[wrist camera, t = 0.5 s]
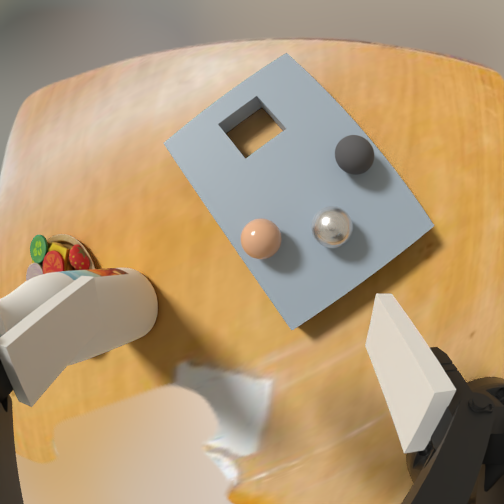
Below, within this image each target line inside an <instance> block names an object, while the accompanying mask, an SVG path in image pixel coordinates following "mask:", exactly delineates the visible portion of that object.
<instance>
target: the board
mask: <svg viewBox="0 0 504 504" xmlns="http://www.w3.org/2000/svg"><path fill="white" fill-rule="evenodd" d="M261 107H262V108H263V109H264V110H265V111H266V112H267V113H268V114H269V115H270V116H271V118H272V119H273V120H274V121H275V122H276V123H277V124H278V126H279V127H280V128H281V129H282V130H283V132H281V133H280V134H278V135H277V136H276V137H274V138H273V139H271V140H270V141H269V142H267V143H266V144H265V145H263V146H262V147H261V148H259V149H258V150H256V151H255V152H254V153H252V154H251V155H250V156H248V157H247V158H245V157H244V156H243V155H242V153H241V152H240V151H239V149H238V148H237V147H236V146H235V144H234V143H233V142H232V141H231V139H230V138H229V137H228V136H227V134H226V133H227V132H229V131H230V130H231V129H233V128H234V127H235V126H237V125H238V124H239V123H241V122H242V121H243V120H245V119H246V118H247V117H249V116H250V115H252V114H253V113H254V112H256V111H257V110H259V109H260V108H261ZM349 135H358V136H361V137H363V138H365V139H366V140H368V141H369V143H370V144H371V145H372V147H373V150H374V161H373V164H372V166H371V167H370V169H369V170H367V171H366V172H364V173H362V174H358V175H353V174H349V173H347V172H345V171H343V170H342V169H341V168H340V167H339V165H338V164H337V162H336V159H335V149H336V146H337V144H338V142H339V141H340V140H341V139H343V138H344V137H346V136H349ZM164 145H165V146H166V148H167V149H168V151H169V152H170V154H171V155H172V157H173V158H174V160H175V161H176V163H177V164H178V166H179V167H180V169H181V170H182V172H183V173H184V175H185V176H186V178H187V179H188V181H189V182H190V183H191V185H192V186H193V188H194V189H195V191H196V192H197V194H198V195H199V197H200V198H201V200H202V201H203V203H204V204H205V206H206V207H207V209H208V210H209V211H210V213H211V214H212V216H213V217H214V219H215V220H216V222H217V223H218V225H219V226H220V228H221V229H222V230H223V232H224V233H225V235H226V236H227V238H228V239H229V241H230V242H231V244H232V245H233V247H234V248H235V249H236V251H237V252H238V254H239V255H240V257H241V258H242V260H243V261H244V263H245V264H246V265H247V267H248V268H249V270H250V271H251V273H252V274H253V276H254V277H255V278H256V280H257V281H258V283H259V284H260V286H261V287H262V289H263V290H264V291H265V293H266V294H267V296H268V297H269V299H270V300H271V301H272V303H273V304H274V306H275V307H276V309H277V310H278V312H279V313H280V314H281V316H282V317H283V319H284V320H285V322H286V323H287V324H288V326H289V327H290V329H291V330H294V329H295V328H297V327H298V326H300V325H301V324H303V323H304V322H306V321H307V320H309V319H310V318H312V317H313V316H315V315H316V314H318V313H319V312H321V311H322V310H323V309H325V308H326V307H328V306H329V305H331V304H332V303H334V302H335V301H336V300H338V299H339V298H341V297H342V296H344V295H345V294H346V293H348V292H349V291H351V290H352V289H353V288H355V287H356V286H358V285H359V284H360V283H362V282H363V281H364V280H366V279H367V278H368V277H370V276H371V275H373V274H374V273H375V272H377V271H378V270H379V269H381V268H382V267H383V266H384V265H386V264H387V263H388V262H390V261H391V260H392V259H394V258H395V257H396V256H397V255H399V254H400V253H401V252H403V251H404V250H405V249H406V248H408V247H409V246H410V245H411V244H413V243H414V242H415V241H416V240H418V239H419V238H420V237H421V236H423V235H424V234H425V233H426V232H428V231H429V230H430V229H431V228H432V227H434V224H433V223H432V221H431V220H430V218H429V217H428V215H427V214H426V212H425V211H424V209H423V208H422V206H421V205H420V204H419V202H418V201H417V199H416V198H415V196H414V195H413V194H412V192H411V191H410V190H409V188H408V187H407V185H406V184H405V183H404V181H403V180H402V179H401V177H400V176H399V175H398V173H397V172H396V171H395V169H394V168H393V167H392V166H391V164H390V163H389V162H388V160H387V159H386V158H385V157H384V155H383V154H382V153H381V152H380V151H379V149H378V148H377V147H376V146H375V144H374V143H373V142H372V141H371V140H370V138H369V137H368V136H367V135H366V134H365V133H364V131H363V130H362V129H361V128H360V127H359V126H358V125H357V123H356V122H355V121H354V120H353V119H352V118H351V117H350V116H349V114H348V113H347V112H346V111H345V110H344V109H343V108H342V107H341V106H340V105H339V104H338V103H337V102H336V100H335V99H334V98H333V97H332V96H331V95H330V94H329V93H328V92H327V91H326V90H325V89H324V88H323V87H322V86H321V85H320V84H319V83H318V82H317V81H316V80H315V79H314V78H313V77H312V76H311V75H310V74H309V73H308V72H307V71H306V70H305V69H304V68H302V67H301V66H300V65H299V64H298V63H297V62H296V61H295V60H294V59H293V58H292V57H291V56H289V55H288V54H287V53H286V54H284V55H282V56H281V57H279V58H278V59H276V60H274V61H273V62H271V63H270V64H268V65H267V66H265V67H264V68H262V69H261V70H259V71H258V72H256V73H255V74H253V75H252V76H250V77H249V78H247V79H246V80H244V81H243V82H242V83H240V84H239V85H237V86H236V87H235V88H233V89H232V90H230V91H229V92H228V93H226V94H225V95H224V96H222V97H221V98H219V99H218V100H217V101H215V102H214V103H213V104H211V105H210V106H209V107H208V108H206V109H205V110H204V111H202V112H201V113H200V114H199V115H197V116H196V117H195V118H193V119H192V120H191V121H190V122H188V123H187V124H186V125H185V126H184V127H182V128H181V129H180V130H179V131H177V132H176V133H175V134H174V135H173V136H172V137H170V138H169V139H168V140H167V141H166V142H164ZM328 206H336V207H339V208H342V209H343V210H345V211H346V212H347V213H348V214H349V216H350V218H351V220H352V224H353V230H352V234H351V237H350V238H349V240H348V241H347V242H346V243H345V244H344V245H342V246H340V247H337V248H328V247H325V246H322V245H321V244H319V243H318V242H317V241H316V239H315V238H314V236H313V234H312V229H311V225H312V220H313V218H314V216H315V214H316V213H317V212H318V211H319V210H321V209H322V208H324V207H328ZM259 218H263V219H268V220H270V221H272V222H273V223H275V224H276V225H277V227H278V228H279V230H280V232H281V237H282V240H281V245H280V248H279V250H278V251H277V252H276V253H275V254H274V255H273V256H272V257H270V258H267V259H255V258H252V257H251V256H249V255H248V254H247V253H246V252H245V251H244V249H243V248H242V245H241V233H242V230H243V228H244V227H245V226H246V224H248V223H249V222H250V221H252V220H254V219H259Z"/></svg>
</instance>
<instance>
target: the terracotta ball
mask: <svg viewBox="0 0 504 504" xmlns="http://www.w3.org/2000/svg"><path fill="white" fill-rule="evenodd" d="M281 240H282V237H281V232H280V230H279V228H278V227H277V225H276V224H275V223H273V222H272V221H270V220H268V219H263V218H259V219H254V220H252V221H250V222H249V223H248V224H246V226H245V227H244V228H243V230H242V233H241V245H242V248H243V249H244V251H245V252H246V253H247V254H248V255H249V256H251V257H252V258H255V259H267V258H270V257H272V256H273V255H274V254H275V253H276V252H277V251H278V250H279V248H280V245H281Z"/></svg>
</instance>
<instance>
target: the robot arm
mask: <svg viewBox="0 0 504 504" xmlns="http://www.w3.org/2000/svg"><path fill="white" fill-rule="evenodd" d="M102 327H103V323H102V319H101V313H100V308H99V303H98V297H97V291H96V285H95V279H94V277H91V276H81V277H79V278H78V279H76V280H75V281H74V282H72V283H71V284H69V285H68V286H67V287H65V288H64V289H63V290H61V291H60V292H58V293H57V294H56V295H54V296H53V297H52V298H50V299H49V300H48V301H46V302H45V303H44V304H42V305H41V306H40V307H38V308H37V309H36V310H34V311H33V312H32V313H30V314H29V315H28V316H26V317H25V318H24V319H23V320H21V321H19V322H18V323H17V324H15V325H14V326H13V327H12V328H10V329H9V330H8V331H7V332H5V333H4V334H3V335H2V336H0V504H23V498H22V493H21V488H20V482H19V476H18V469H17V462H16V454H15V444H14V432H13V415H12V400H11V397H10V395H9V394H10V393H11V392H12V391H13V390H14V392H15V394H16V396H17V398H18V400H19V402H22V403H24V404H26V405H28V406H31V407H32V406H33V405H34V404H35V403H36V401H37V400H38V399H39V398H40V397H41V395H42V394H43V393H44V392H45V391H46V390H47V388H48V387H49V386H50V385H51V384H52V383H53V381H54V380H55V379H56V378H57V377H58V376H59V374H60V373H61V372H62V371H63V370H64V369H65V368H66V366H67V365H68V364H69V363H70V362H71V361H72V360H73V359H74V357H75V356H76V355H77V354H78V353H79V352H80V351H81V350H82V348H83V347H84V346H85V345H86V344H87V343H88V342H89V341H90V340H91V339H92V337H93V336H94V335H95V334H96V333H97V332H98V331H99V330H100V329H101V328H102ZM365 346H366V349H367V352H368V354H369V357H370V359H371V362H372V364H373V367H374V370H375V372H376V375H377V378H378V380H379V383H380V386H381V388H382V391H383V394H384V396H385V399H386V402H387V405H388V408H389V410H390V413H391V416H392V419H393V422H394V425H395V428H396V431H397V434H398V437H399V440H400V443H401V446H402V449H403V452H404V453H407V459H406V460H407V467H408V470H409V474H410V477H411V480H412V482H413V486H412V488H411V489H410V491H409V493H408V494H407V496H406V497H405V499H404V501H403V502H402V504H504V379H502V378H497V377H486V378H480V379H476V380H473V381H471V382H468V383H466V382H465V380H464V379H463V377H462V376H461V374H460V373H459V371H457V368H456V367H455V365H454V364H452V361H451V360H450V358H449V357H448V355H447V354H446V353H445V352H443V351H442V350H440V349H439V348H438V347H430V348H429V346H428V345H427V343H426V342H425V340H424V339H423V337H422V336H421V334H420V333H419V331H418V330H417V329H416V327H415V326H414V324H413V323H412V321H411V320H410V319H409V317H408V316H407V314H406V313H405V311H404V310H403V309H402V307H401V306H400V304H399V303H398V302H397V300H396V299H395V298H394V296H393V295H392V294H379V293H376V296H375V302H374V307H373V312H372V317H371V322H370V327H369V331H368V336H367V340H366V345H365Z"/></svg>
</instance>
